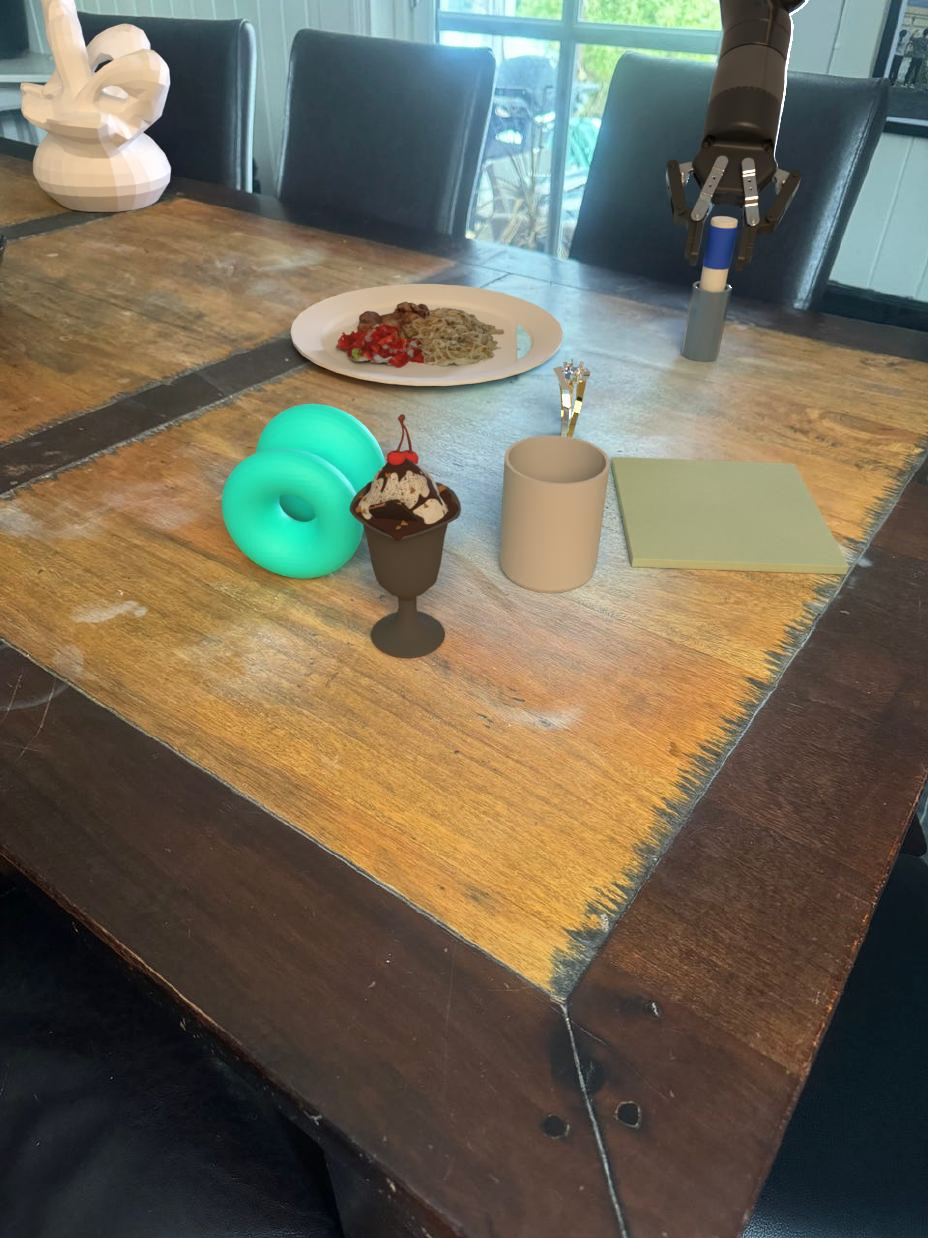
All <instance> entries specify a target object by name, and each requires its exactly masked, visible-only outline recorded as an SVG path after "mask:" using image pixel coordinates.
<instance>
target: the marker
mask: <svg viewBox="0 0 928 1238" xmlns="http://www.w3.org/2000/svg"><path fill="white" fill-rule="evenodd" d="M738 223H739V221H738V219H737V218H735V217H731V216H727V215H726V216H724V215H719V216H718V215H717V216H713V217H711V219H710V223H709V224H708V230H707V235H706V236H707V237H706V241H705V247H704V254H703V257H702V258H703V259H702V269H701V276H700V280H699V281H700V286H699V288H700V289H703V290H707V291H719V292H720V291H724V290H725V285H726V284H727V279H728V274H729V269H730V267H731V263H732V260H733V255H734V254H733V253H734V248H735V243H736V238H737V234H738V227H739V225H738Z"/></svg>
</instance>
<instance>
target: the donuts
mask: <svg viewBox="0 0 928 1238" xmlns="http://www.w3.org/2000/svg"><path fill="white" fill-rule="evenodd" d="M385 465H386V460H385V455H384V453H383V451H382V448H381V446H380V444H379V442H378V441H377V439H376V438H375V436H374V435H373V433H372V432H371V431H370V430H369V429H368V427H367V426H366V425H365V424H364V423H362V422H361V421H360V420H359V419H357V418H356V417H355V416H353V415H352V414H350V413H349V412H347V411H345V410H342V409H339V408H338V407H334V406H331V405H325V404H321V403H303V404H298V405H295V406H291V407H289V408H286V409H283V410H282V411H281V412H279V413H277V414H276V415H275V416H273V418H271V419H270V420H269V421H268V423H267V424H266V425H265V426H264V428H263V429H262V431H261V433H260V434H259V438H258V441H257V444H256V450H255V452H254V453H252V454H250V455H248V456H247V457H246V458H243V460H241V461H240V462H239V463H238V464H237V465H236V466H235V467H234V468H233V469H232V470H231V472H230V474H229V475H228V476H227V478H226V480H225V482H224V486H223V490H222V494H221V513H222V519H223V522H224V525H225V527H226V530H227V533H228V534H229V536H230V538H231V540H232V541H233V542H234V544H235V545H236V547H237V548H238V549H239V550H240V551H241V552H242V553H243V555H245V556H246V557H247V559H250V560H251V561H252V562H253V563H254V564H256V565H257V566H259V567H261V568H263V569H264V570H267V571H269V572H271V573H273V574H276V575H279V576H283V577H285V578H286V577H287V578H290V579H301V580H302V579H303V580H306V579H315V578H319V577H324V576H327V575H329V574H332V573H334V572H336V571H338V570H339V569H341V568H342V567H343V566H345V565H346V564H347V563H349V561H350V560H351V559H352V558H353V556H354V555H355V553H356V551H357V550H358V548H359V546H360V544H361V541H362V538H363V533H364V527H363V524H362V523H361V522H360V521H358V520H357V519H356V518H354V516H353V515H352V514H351V512H350V510H349V509H350V504H351V502H352V500H353V498H354V497H355V495H356V494H357V493H358V492H359V491H360V490H361V489H362V488H363V487H365V486H366V485H367V484H368V483H369V482H371V481H373V479H374V477H375V475H376V473H377V472H378V471H379V470H380V469H381V468H382V467H383V466H385Z"/></svg>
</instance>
